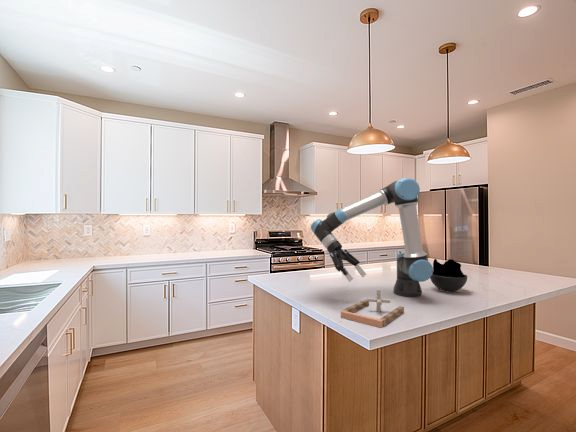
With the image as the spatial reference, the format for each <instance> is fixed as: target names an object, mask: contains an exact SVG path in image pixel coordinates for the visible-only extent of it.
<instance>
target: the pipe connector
mask: <svg viewBox="0 0 576 432" xmlns="http://www.w3.org/2000/svg"><path fill="white" fill-rule="evenodd" d="M381 292H382V291H381V289H379V288H377V289H376V295H375V297H367V299H366V300H367V301H368V302H369V303H376V312H378V313H381V311H382V310H381V309H382V305H383V303H384V304H391V299H390V298H382V296H381V294H382V293H381Z"/></svg>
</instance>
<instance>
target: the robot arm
mask: <svg viewBox="0 0 576 432" xmlns="http://www.w3.org/2000/svg"><path fill="white" fill-rule="evenodd" d="M420 190H421V187H420V185H419V182H417V181H416V180H415V179H414V178H411V177H403V178H399V179H398V180H397V179H396V180H395V181H393V182H391V183H389V184H388V185H387V186H384V187H383V188H380V189H379V190H378V192H376V193H374V194H372V195H369V196H367V197H365V198H362V199H360V200H358V201H356V202H353V203H351V204H349V205H346V206H345V207H341V208H338V209H337V210H335V211H334V212H330V213H329V214H327V216H326V218H324V219H323V220H322V219H317V220H314V221H313V222H311V225H310V229H311V231H312V233H313V234H314V235H315V237H316V238H317V239H318V241H319V242H320V243H321V244H322V245H323V247H324V248H325V249H326V251H327V252H328V253H329V256H330V258H331V260H332V262H333V265H334V268H335V269H336V270H337V272H341V274H343V275H344V277H345V278H346V280H347V281H348V282H351V281H353V279H354V276H353V275H352V274H351V273H350V271H349V270H348V269H347V268H346V266H344V263H343V262H344V261H346V262H347V263H349V264H351V265H352V266H353V267H354V269H355V270H356V271H357V273H358V274H359V275H360V276H361V278H364V277H365V276H366V275H367V272H366V271H365V270H364V269H363V267H362V266H361V265H360V260H359V259H358V258H356V257H355V256H354V255H353V254H351V253H350V252H349V251H348V250H347V249H344V250H343V249H342V248H343V245H342V244H341V243H340V241H339V240H338V238H336V236H335V235H334V234H333V232H334V231H335V230H336V229H338V228H339V227H340V226H341V225H343V224H344V223H345V222H347V221H349V220H351V219H353V218H356V217H358V216H360V215H363V214H365V213H367V212H369V211H372V210H374V209H377V208H378V207H381V206H383V205H386V206H388V205H390V204H392V203H394V206H395V207H396V208H397V209H398V213H399V219H400V226H401V230H402V231H401V232H402V238H403V243H404V250H405V253H404V252H403V253H397V255H396V280H395V284H394V286H393V293H394V294H396V295H398V296H401V297H402V296H403V297H409V298H411V297H412V298H414V297H415V298H417V297H421V296H422V295H423V289H422V287H421V284H420V283H421V282H426V281H428V280H430V277H431V276H432V274H433V264H432V263H431V262H430V261H429V259H428V253H426V252H425V251H424V248H423V242H422V235H421V229H420V222H419V218H418V210H417V205H418V203H419V194H420Z"/></svg>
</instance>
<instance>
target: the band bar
mask: <svg viewBox="0 0 576 432" xmlns="http://www.w3.org/2000/svg"><path fill="white" fill-rule="evenodd" d="M340 318H342V319H345V320H350V321H354V322H357V323H360V324H365V325H367V326H368V325H370V326H373V327H376V328H382V327H384V326H383V320H381V319H380V318H375V317H371V316H367V315H363V314H358V313H356V312H355V313H351V312H347V311H342V310H341V311H340Z"/></svg>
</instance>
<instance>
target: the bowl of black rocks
mask: <svg viewBox="0 0 576 432" xmlns="http://www.w3.org/2000/svg"><path fill="white" fill-rule="evenodd" d="M432 267H433V274H432V276H431V277H430V278H429V280H430V281H431V282H432V284H433V285H434V286H435V287H436V288H437V289H439V290H440V291H443V292H447V291H448V292H451V293H452V292H457V291H459V290H460V289H462V288H463V287H464V286H465V285H466V284H467V281H468V275H467V274H464V273H463V271H462V268H461V267H462V264H461V263H460V262H458V261H455V260H454V259H447V260H446V261H444V263H440V261H438V260H437V259H436V258H434V260H433V263H432Z"/></svg>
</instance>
